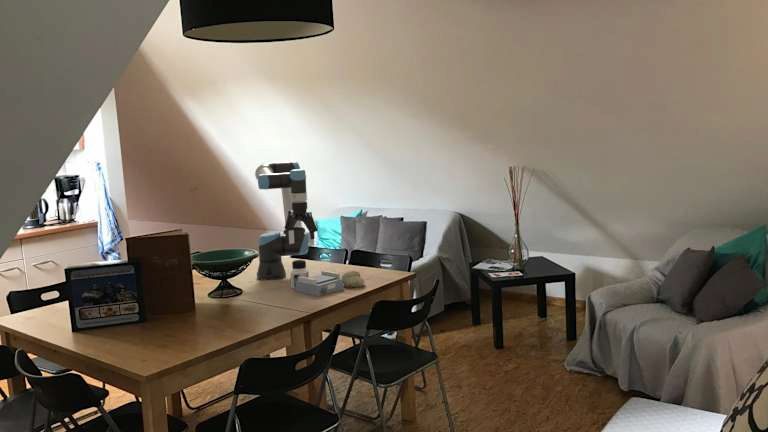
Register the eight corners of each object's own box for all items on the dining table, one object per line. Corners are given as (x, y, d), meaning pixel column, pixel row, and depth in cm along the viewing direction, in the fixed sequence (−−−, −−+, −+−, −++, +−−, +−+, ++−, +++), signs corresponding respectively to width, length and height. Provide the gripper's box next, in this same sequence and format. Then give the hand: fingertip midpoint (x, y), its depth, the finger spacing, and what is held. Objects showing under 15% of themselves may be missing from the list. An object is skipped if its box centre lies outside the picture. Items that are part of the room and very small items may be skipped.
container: (307, 288, 327) (305, 261, 325) (291, 288, 327) (289, 262, 325) (309, 284, 335) (307, 258, 333) (293, 284, 335) (292, 259, 333)
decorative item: (334, 279, 324) (342, 267, 332) (340, 294, 328) (349, 281, 336) (355, 278, 318) (363, 266, 326) (361, 293, 322) (369, 280, 330)
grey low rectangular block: (295, 291, 321) (295, 276, 320) (320, 284, 333) (319, 270, 332) (320, 296, 310) (319, 280, 309) (344, 289, 321) (344, 274, 320)
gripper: (275, 201, 330) (278, 243, 333) (312, 203, 315) (314, 248, 318) (287, 199, 336) (289, 241, 339) (323, 201, 321) (325, 245, 324)
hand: (301, 244), depth 329 cm, fingers open, 13 cm apart
